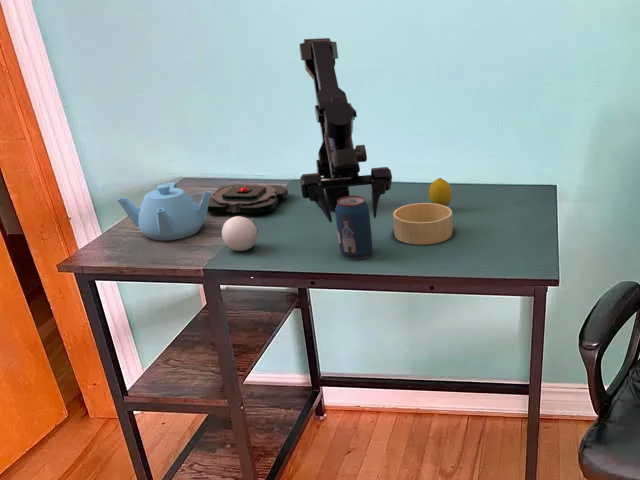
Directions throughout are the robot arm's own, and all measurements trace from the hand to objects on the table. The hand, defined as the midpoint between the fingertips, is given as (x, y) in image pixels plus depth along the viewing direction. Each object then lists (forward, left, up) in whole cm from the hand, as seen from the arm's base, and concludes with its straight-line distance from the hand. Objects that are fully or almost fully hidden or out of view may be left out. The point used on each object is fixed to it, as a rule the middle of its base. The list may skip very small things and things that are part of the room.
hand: (353, 219), depth 149 cm
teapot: (-40, -24, -8) cm, 47 cm away
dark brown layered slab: (-46, -3, -8) cm, 47 cm away
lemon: (-10, +31, -8) cm, 34 cm away
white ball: (-20, -16, -8) cm, 27 cm away
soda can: (0, 0, -8) cm, 8 cm away
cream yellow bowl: (0, +18, -8) cm, 20 cm away
